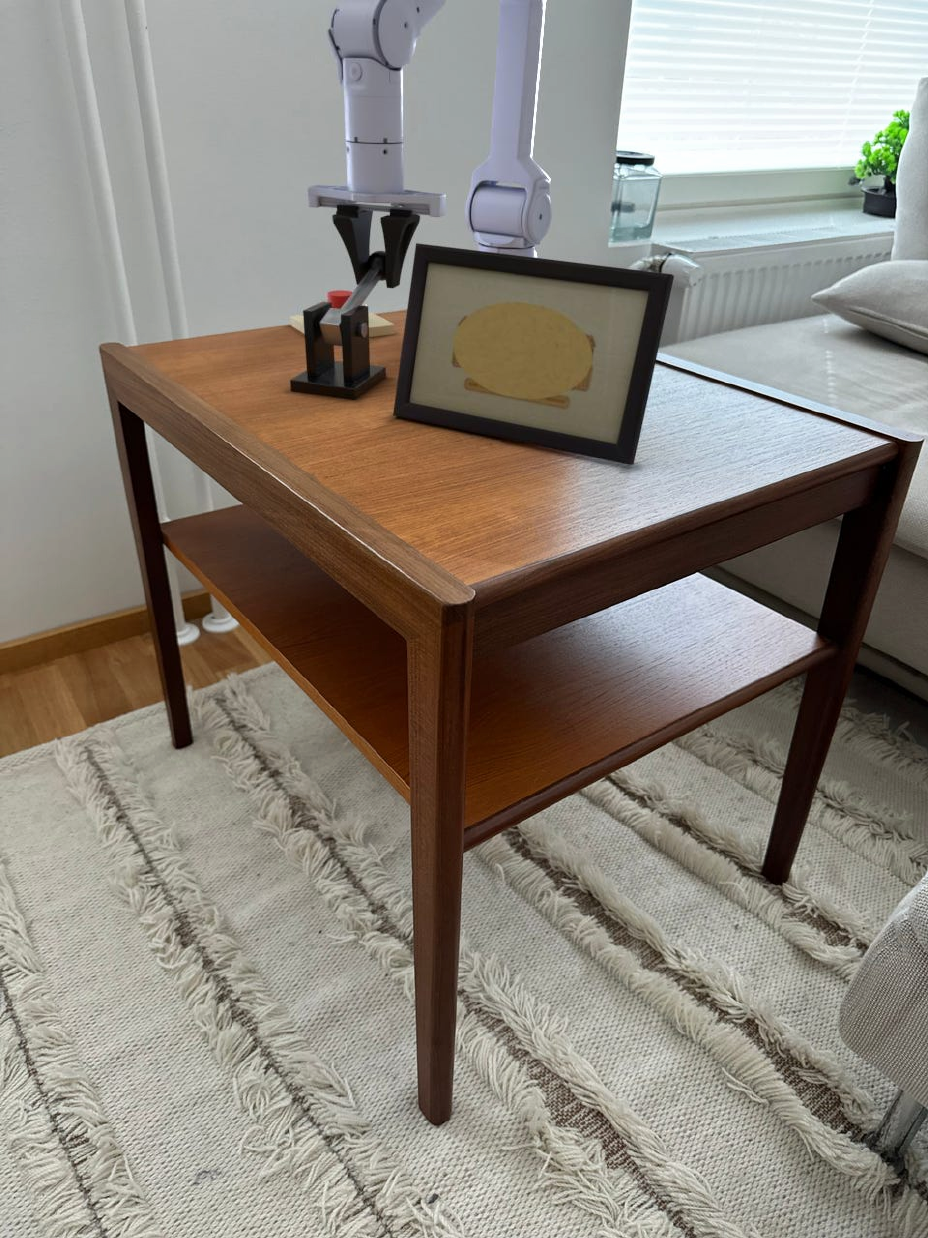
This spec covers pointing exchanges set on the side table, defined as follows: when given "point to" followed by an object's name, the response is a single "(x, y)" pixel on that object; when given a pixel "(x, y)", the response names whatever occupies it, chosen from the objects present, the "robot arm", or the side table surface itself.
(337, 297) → the button
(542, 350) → the picture frame
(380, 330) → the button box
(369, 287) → the lever
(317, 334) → the bracket
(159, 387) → the side table surface
